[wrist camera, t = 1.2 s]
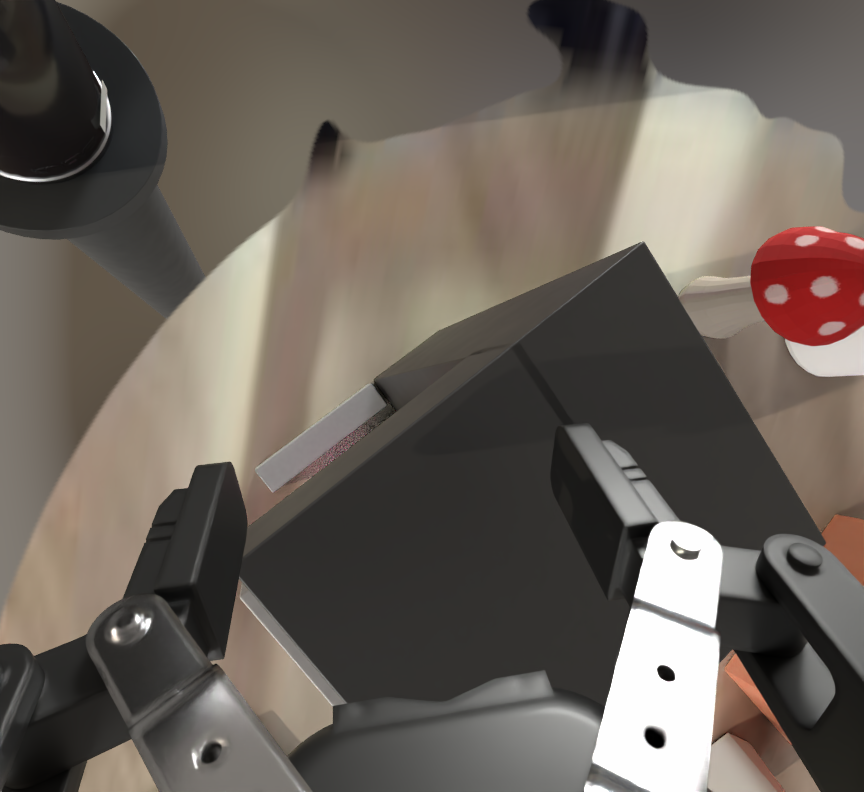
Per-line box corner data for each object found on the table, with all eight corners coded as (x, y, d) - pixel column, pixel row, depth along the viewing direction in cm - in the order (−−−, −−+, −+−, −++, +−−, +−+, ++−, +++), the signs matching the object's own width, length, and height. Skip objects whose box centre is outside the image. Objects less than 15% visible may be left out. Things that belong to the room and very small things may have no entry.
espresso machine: (249, 472, 38) (213, 580, 15) (439, 330, 42) (644, 240, 19) (368, 618, 40) (499, 912, 17) (537, 470, 44) (827, 542, 21)
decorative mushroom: (648, 336, 47) (813, 307, 33) (671, 245, 48) (842, 179, 34) (734, 371, 50) (921, 358, 36) (755, 285, 51) (945, 238, 36)
